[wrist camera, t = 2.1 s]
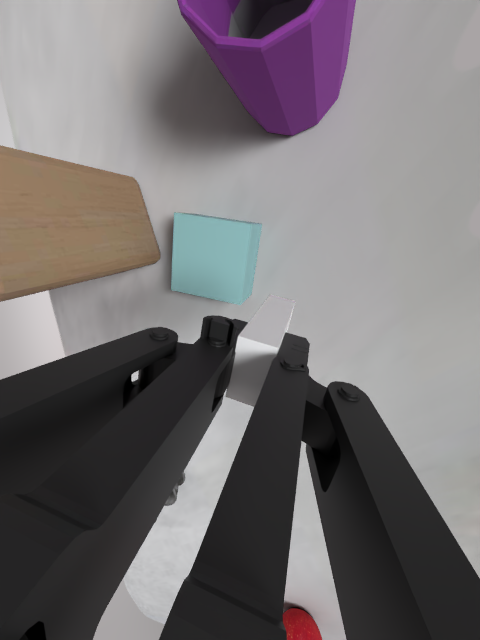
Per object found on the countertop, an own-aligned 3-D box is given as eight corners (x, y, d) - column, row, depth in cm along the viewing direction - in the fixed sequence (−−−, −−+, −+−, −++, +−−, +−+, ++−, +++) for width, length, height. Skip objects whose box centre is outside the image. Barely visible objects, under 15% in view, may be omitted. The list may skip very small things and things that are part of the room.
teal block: (195, 214, 32) (174, 212, 27) (262, 224, 30) (251, 224, 26) (190, 281, 35) (171, 289, 30) (251, 293, 33) (240, 305, 29)
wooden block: (105, 276, 38) (-95, 325, 20) (76, 200, 36) (-183, 176, 17) (166, 260, 35) (-8, 301, 17) (139, 175, 32) (-100, 112, 14)
